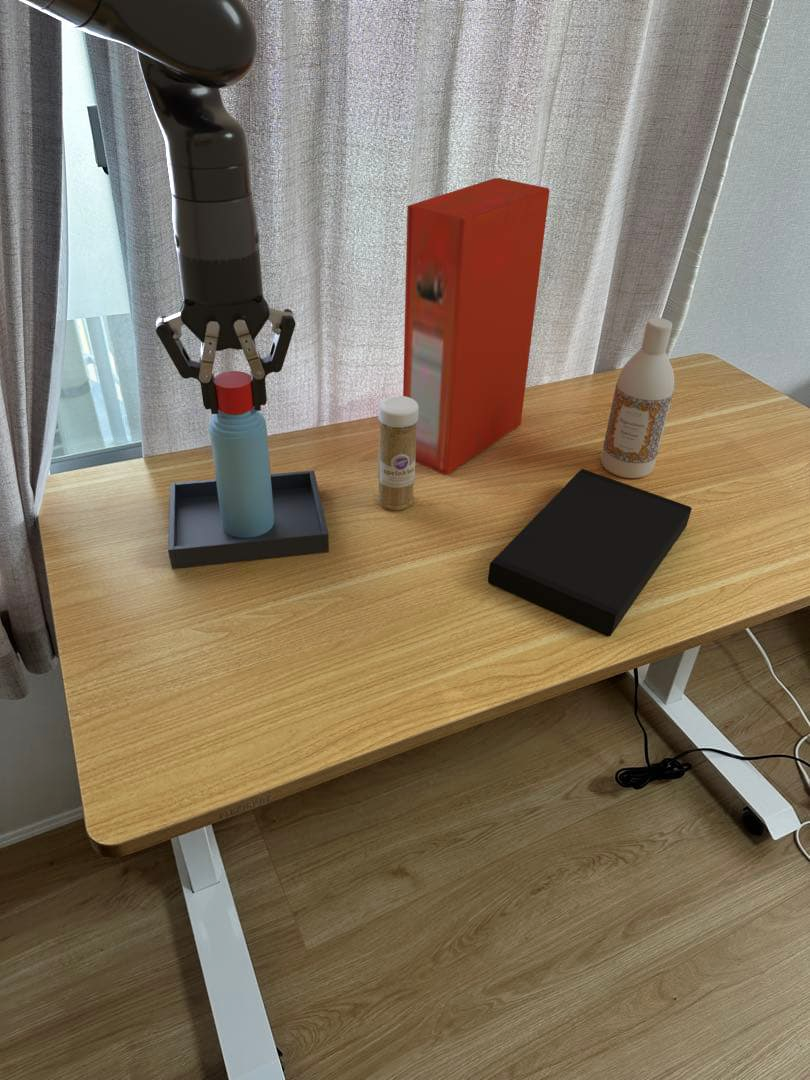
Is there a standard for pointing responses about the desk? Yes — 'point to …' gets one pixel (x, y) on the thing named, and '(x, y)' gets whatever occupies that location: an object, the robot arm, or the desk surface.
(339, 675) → the desk surface
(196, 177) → the robot arm
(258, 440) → the bottle
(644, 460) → the bath foam
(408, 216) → the file binder
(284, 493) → the tray
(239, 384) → the cap
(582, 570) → the external hard drive
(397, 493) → the sprinkles bottle
